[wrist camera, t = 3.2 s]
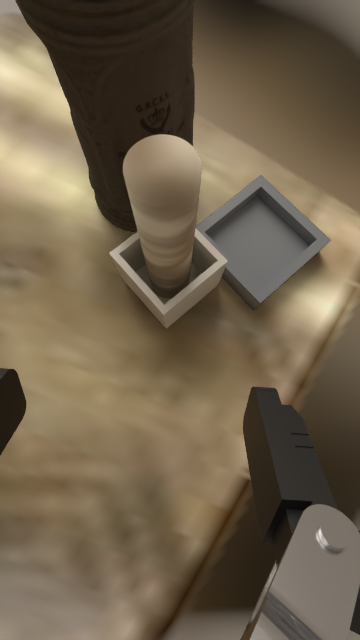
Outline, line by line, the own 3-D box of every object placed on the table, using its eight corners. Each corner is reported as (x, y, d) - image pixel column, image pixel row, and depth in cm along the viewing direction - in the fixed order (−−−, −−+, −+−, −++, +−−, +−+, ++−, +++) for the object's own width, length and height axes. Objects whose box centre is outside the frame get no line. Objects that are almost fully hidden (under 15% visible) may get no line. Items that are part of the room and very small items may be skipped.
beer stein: (214, 199, 33) (248, -84, 14) (141, 257, 31) (64, 26, 12) (130, 122, 37) (64, -189, 17) (60, 170, 35) (-99, -115, 16)
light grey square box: (166, 329, 30) (163, 314, 24) (121, 278, 31) (108, 253, 25) (218, 284, 31) (227, 261, 25) (173, 237, 32) (172, 204, 26)
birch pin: (167, 306, 30) (157, 217, 14) (142, 278, 30) (106, 163, 15) (197, 281, 30) (218, 171, 15) (171, 254, 31) (166, 121, 15)
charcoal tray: (253, 310, 30) (260, 303, 28) (189, 242, 32) (190, 230, 30) (319, 251, 32) (331, 240, 29) (254, 190, 34) (260, 174, 31)
